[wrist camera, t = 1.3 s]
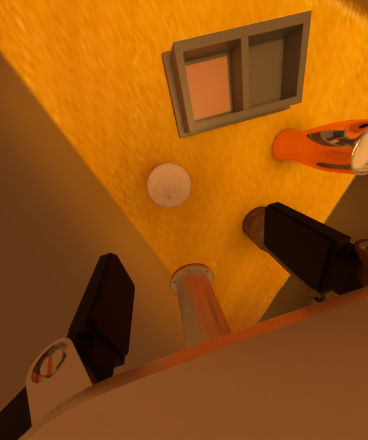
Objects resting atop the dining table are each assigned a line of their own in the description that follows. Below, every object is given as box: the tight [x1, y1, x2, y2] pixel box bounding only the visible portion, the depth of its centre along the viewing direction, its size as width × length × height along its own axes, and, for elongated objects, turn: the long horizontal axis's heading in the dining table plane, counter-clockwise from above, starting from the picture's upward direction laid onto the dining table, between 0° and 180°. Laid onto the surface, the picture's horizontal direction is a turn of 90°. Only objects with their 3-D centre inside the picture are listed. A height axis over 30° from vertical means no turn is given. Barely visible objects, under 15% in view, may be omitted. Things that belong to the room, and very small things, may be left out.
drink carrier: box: [162, 11, 311, 138], centre depth 24 cm, size 11×21×4 cm, turn 103°
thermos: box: [243, 207, 336, 306], centre depth 25 cm, size 9×12×35 cm
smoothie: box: [147, 163, 191, 208], centre depth 25 cm, size 6×6×14 cm
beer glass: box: [272, 119, 368, 175], centre depth 26 cm, size 7×7×15 cm
